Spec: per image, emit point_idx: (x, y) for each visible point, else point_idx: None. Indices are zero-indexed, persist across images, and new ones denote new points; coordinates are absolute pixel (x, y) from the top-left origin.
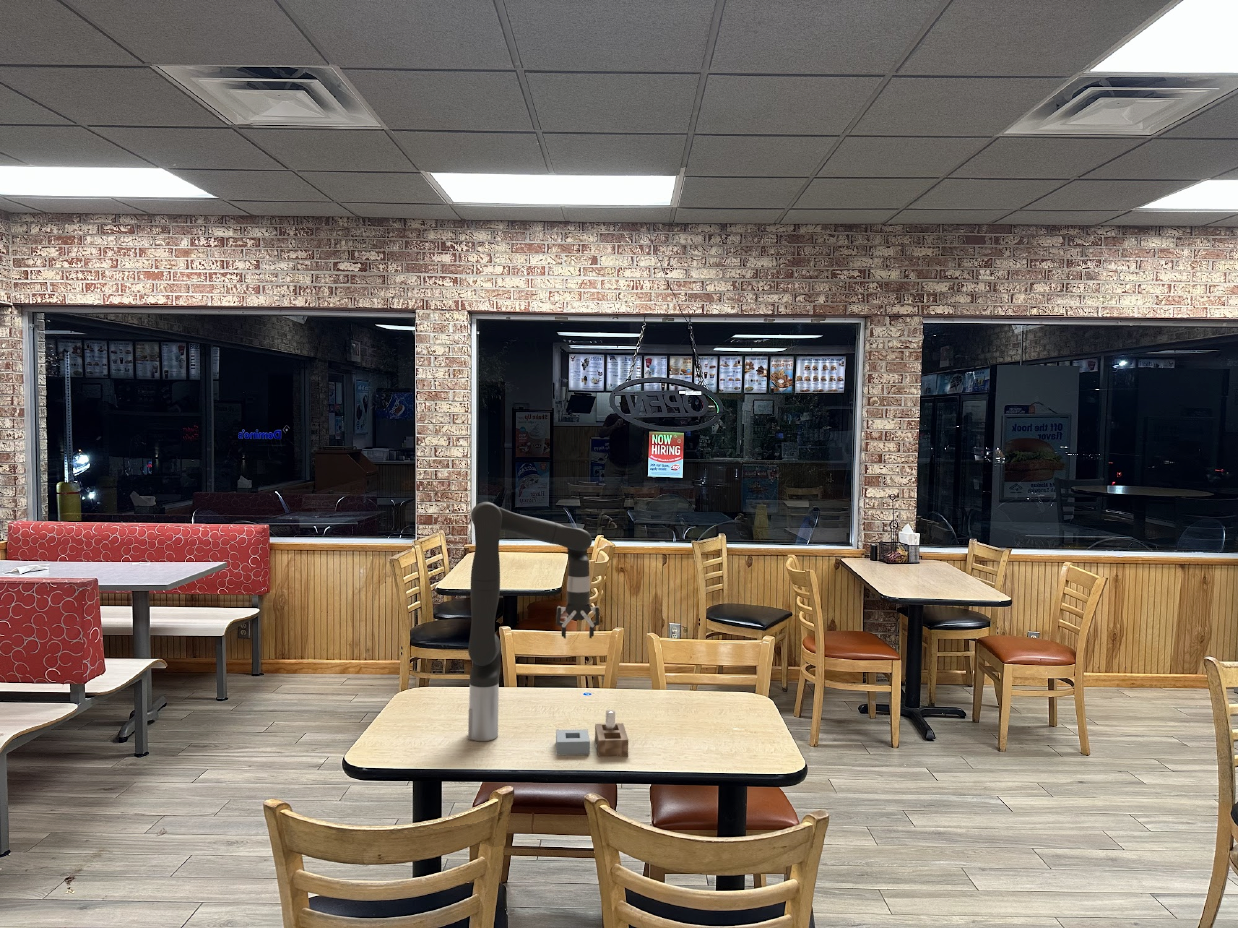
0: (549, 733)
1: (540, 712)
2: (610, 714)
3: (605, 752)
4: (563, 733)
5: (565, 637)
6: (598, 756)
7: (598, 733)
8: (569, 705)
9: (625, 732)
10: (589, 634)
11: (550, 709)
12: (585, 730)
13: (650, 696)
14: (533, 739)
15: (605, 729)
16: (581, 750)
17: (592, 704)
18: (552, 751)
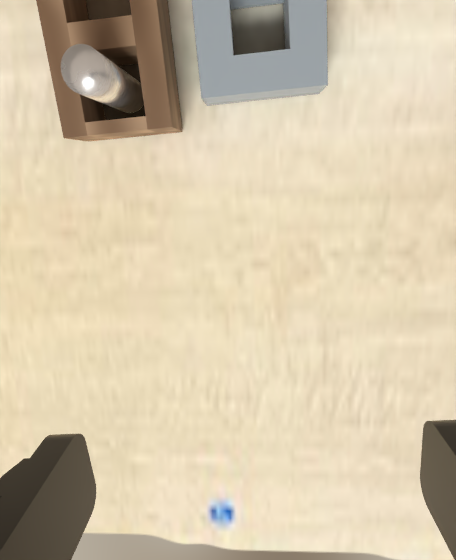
0: (340, 186)
1: (366, 371)
2: (83, 45)
3: None
4: (297, 43)
5: (439, 422)
6: None
7: (152, 6)
8: (273, 427)
9: (44, 25)
10: (69, 499)
11: (334, 396)
12: (210, 84)
13: None
14: (398, 127)
15: (130, 84)
16: None
17: (203, 434)
18: (331, 6)
